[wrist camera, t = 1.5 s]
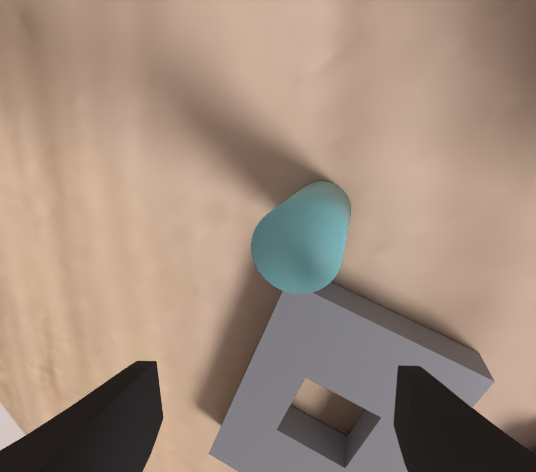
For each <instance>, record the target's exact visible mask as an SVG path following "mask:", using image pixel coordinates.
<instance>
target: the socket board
mask: <svg viewBox="0 0 536 472" xmlns="http://www.w3.org/2000/svg"><path fill="white" fill-rule="evenodd" d="M398 365H400V366H421V367H422V368H423V369H425V370H426V371H427V372H428V373H430V374H431V375H432V376H433V377H435V378H436V379H437V380H438V381H440V382H441V383H442V384H443V385H444V386H446V387H447V388H448V389H449V390H451V391H452V392H453V393H454V394H456V395H457V396H458V397H459V398H460V399H462V400H463V401H464V402H465V403H467V404H468V405H469V406H470V407H473V406H474V405H475V404H476V403H477V402H478V400H479V399H480V398H481V397H482V396H483V394H484V393H485V392H486V391H487V390H488V389H489V387H490V386H491V385H492V384H493V383H494V382H495V381H494V380H493V378H492V376H491V374H490V372H489V370H488V369H487V367H486V365H485V363H484V361H483V359H482V358H481V356H480V354H479V353H478V352H476V351H474V350H472V349H470V348H468V347H466V346H464V345H462V344H460V343H458V342H455V341H453V340H451V339H449V338H447V337H445V336H443V335H441V334H439V333H437V332H435V331H432V330H430V329H428V328H426V327H424V326H422V325H420V324H418V323H416V322H414V321H412V320H409V319H407V318H405V317H403V316H401V315H399V314H397V313H395V312H393V311H391V310H388V309H386V308H384V307H382V306H380V305H378V304H376V303H374V302H372V301H370V300H368V299H365V298H363V297H361V296H359V295H357V294H355V293H353V292H351V291H349V290H347V289H345V288H342V287H340V286H338V285H336V284H334V283H332V282H330V283H329V284H328V285H327V286H325V287H324V288H322V289H320V290H318V291H315V292H312V293H308V294H293V293H288V292H285V291H283V292H282V294H281V296H280V298H279V300H278V303H277V305H276V307H275V309H274V311H273V314H272V316H271V318H270V320H269V322H268V325H267V327H266V329H265V331H264V333H263V336H262V338H261V340H260V342H259V344H258V347H257V349H256V351H255V353H254V355H253V357H252V360H251V362H250V364H249V366H248V368H247V371H246V373H245V375H244V377H243V379H242V382H241V384H240V386H239V388H238V390H237V393H236V395H235V397H234V399H233V401H232V404H231V406H230V408H229V410H228V412H227V415H226V417H225V419H224V421H223V423H222V426H221V428H220V430H219V432H218V434H217V437H216V439H215V441H214V443H213V445H212V448H211V450H210V452H209V454H210V455H212V456H213V457H215V458H217V459H218V460H220V461H222V462H223V463H225V464H227V465H229V466H230V467H232V468H234V469H235V470H237V471H239V472H408V471H407V468H406V466H405V463H404V460H403V457H402V453H401V450H400V447H399V443H398V440H397V436H396V432H395V429H394V425H393V423H394V410H395V397H396V384H397V372H398ZM305 377H306V378H308V379H309V380H311V381H313V382H315V383H317V384H319V385H321V386H323V387H324V388H326V389H328V390H330V391H332V392H334V393H336V394H338V395H340V396H341V397H343V398H345V399H347V400H349V401H351V402H353V403H355V404H357V405H358V406H360V407H362V408H364V409H365V410H364V412H363V413H362V415H361V416H360V418H359V419H358V421H357V422H356V424H355V425H354V427H353V428H352V430H351V431H350V433H349V434H348V436H346V435H344V434H342V433H340V432H338V431H337V430H335V429H333V428H331V427H329V426H327V425H326V424H324V423H322V422H320V421H318V420H316V419H315V418H313V417H311V416H309V415H307V414H305V413H304V412H302V411H300V410H298V409H296V408H295V407H293V406H291V403H292V401H293V399H294V397H295V396H296V394H297V392H298V390H299V388H300V387H301V385H302V383H303V381H304V379H305Z"/></svg>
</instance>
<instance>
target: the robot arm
mask: <svg viewBox="0 0 536 472" xmlns="http://www.w3.org/2000/svg"><path fill="white" fill-rule="evenodd" d="M162 420H163V412H162V403H161V395H160V387H159V378H158V370H157V362H156V361H136V362H135V363H133V364H132V365H130V366H128V367H127V368H125V369H124V370H122V371H121V372H120V373H118V374H117V375H115V376H114V377H112V378H111V379H110V380H108V381H107V382H105V383H104V384H102V385H101V386H100V387H98V388H97V389H95V390H94V391H92V392H91V393H90V394H88V395H87V396H85V397H84V398H82V399H81V400H79V401H78V402H77V403H75V404H74V405H72V406H71V407H69V408H68V409H66V410H65V411H63V412H62V413H60V414H58V415H57V416H55V417H54V418H52V419H51V420H49V421H48V422H46V423H45V424H43V425H41V426H40V427H38V428H37V429H35V430H34V431H32V432H31V433H29V434H27V435H26V436H24V437H23V438H21V439H19V440H18V441H16V442H14V443H12V444H11V445H9V446H7V447H6V448H4V449H2V450H1V451H0V472H142V471H143V469H144V467H145V465H146V463H147V461H148V459H149V456H150V454H151V452H152V449H153V446H154V444H155V441H156V438H157V435H158V432H159V429H160V426H161V423H162ZM393 425H394V429H395V432H396V436H397V440H398V443H399V447H400V450H401V453H402V457H403V460H404V463H405V466H406V468H407V471H408V472H536V455H535V454H533V453H532V452H531V451H529V450H528V449H527V448H525V447H524V446H522V445H521V444H520V443H518V442H517V441H515V440H514V439H513V438H511V437H510V436H508V435H507V434H506V433H504V432H503V431H502V430H500V429H499V428H498V427H496V426H495V425H494V424H492V423H491V422H490V421H488V420H487V419H486V418H485V417H483V416H482V415H481V414H479V413H478V412H477V411H476V410H474V409H473V408H472V407H470V406H469V405H468V404H467V403H465V402H464V401H463V400H462V399H460V398H459V397H458V396H457V395H456V394H454V393H453V392H452V391H451V390H449V389H448V388H447V387H446V386H444V385H443V384H442V383H441V382H440V381H438V380H437V379H436V378H435V377H433V376H432V375H431V374H430V373H428V372H427V371H426V370H425V369H423V368H422V367H421V366H400V365H398V372H397V384H396V397H395V410H394V423H393Z"/></svg>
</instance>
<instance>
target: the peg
mask: <svg viewBox="0 0 536 472" xmlns="http://www.w3.org/2000/svg"><path fill="white" fill-rule="evenodd" d="M350 215H351V205H350V201H349V198H348V196H347V194H346V193H345V192H344V191H343V189H341V188H340V187H339V186H337V185H336V184H334V183H331V182H327V181H316V182H312V183H310V184H308V185H306V186H304V187H303V188H302V189H300V190H299V191H298V192H296V193H295V194H294V195H292V196H291V197H290V198H288V199H287V200H286V201H284V202H283V203H282V204H280V205H279V206H278V207H276V208H275V209H274V210H272V211H271V212H270V213H268V214H267V215H266V216H265V217H264V218H263V219H262V220H261V221H260V222H259V224H258V225H257V227H256V229H255V231H254V234H253V237H252V242H251V250H252V257H253V260H254V263H255V265H256V267H257V269H258V271H259V272H260V274H261V275H262V276H263V278H264V279H265V280H266V281H268V282H269V283H270V284H271V285H273V286H274V287H276V288H278V289H280V290H282V291H285V292H288V293H293V294H308V293H312V292H315V291H318V290H320V289H322V288H324V287H325V286H327V285H328V284H329V283H330V282H331V281H332V280H333V279H334V278H335V277H336V275H337V273H338V272H339V270H340V267H341V264H342V260H343V254H344V249H345V243H346V237H347V232H348V226H349V221H350Z"/></svg>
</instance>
